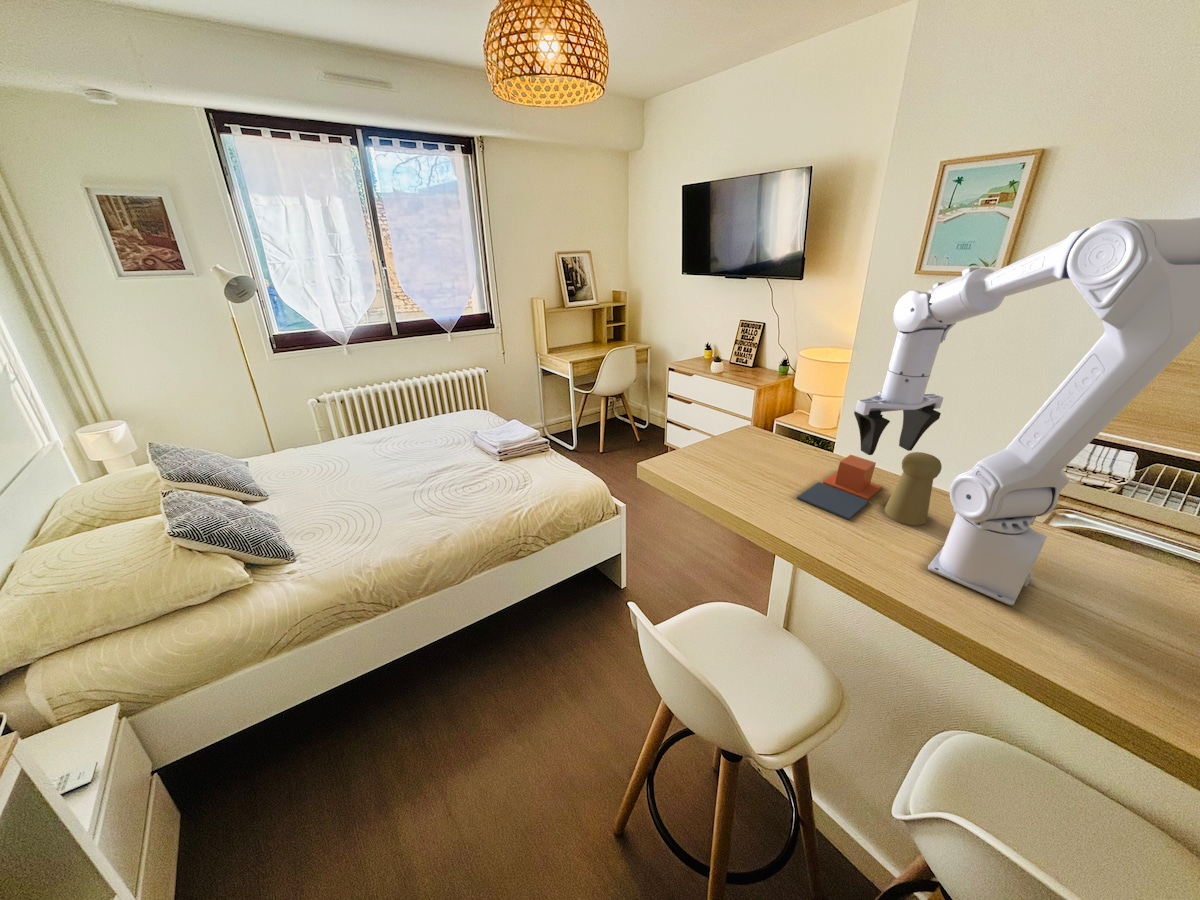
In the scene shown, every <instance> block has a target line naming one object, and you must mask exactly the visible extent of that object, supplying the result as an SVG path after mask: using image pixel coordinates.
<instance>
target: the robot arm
mask: <svg viewBox="0 0 1200 900" xmlns="http://www.w3.org/2000/svg"><path fill="white" fill-rule="evenodd" d="M1063 280H1070V282H1071V283H1072V285H1073V287H1075V289H1076V290H1077V291H1078V292H1079V294H1080V295H1081V296H1082V297H1083V299H1084V300H1085V302H1086V303H1087V304H1088V305H1089V307H1090V308H1091V309H1092V311H1093V312H1094V313H1095V314H1096V316H1097V317H1098V318H1099V320H1100V321H1101V323H1102V326H1103V330H1104V332H1103V334H1102V335H1101V336H1100V337H1099V339H1098V340H1097V341H1096V342H1095V343H1094V345H1093V346H1092V347H1091V348H1090V349H1089V351H1088V352H1087V353H1086V354H1084V356H1083V358H1082V359H1081V360H1080V361H1079V362H1078V363H1077V364H1076V366H1074V368H1073V369H1072V370H1071V371H1070V373H1069V374H1068V375H1067V376H1066V377H1065V379H1064V380H1063V381H1062V382H1061V383H1059V385H1058V387H1057V388H1055V390H1054V391H1053V392H1052V394H1051V395H1050V396H1049V397H1048V398H1047V400H1045V401H1044V403H1043V404H1042V406H1041V407H1040V408H1039V409H1038V410H1037V411H1036V412H1035V414H1034V415H1033V416H1032V417H1031V418H1030V419H1029V421H1028V422H1026V424H1025V425H1024V426H1023V427H1022V428H1021V430H1020V431H1019V432H1018V433H1017V435H1016V436H1015V437H1014V438H1013V439H1012V440H1011V441H1010V442H1009V444H1008V445H1007V446H1006V447H1005V448H1004V449H1002V450H1000V451H997V452H996V453H993V454H991V455H989V456H986V457H985V458H982V459H980V460H979V461H977V462H976V464H975V465H974V466H973V467H972V468H971V469H969V470H967V471H965V472H962V473H960V474H958V475H957V476H955V477H954V479H953V480H952V482H951V484H950V487H949V500H950V503H951V505H952V507H953V512H954V513H955V516H954V517H953V518H954V519H953V521H952V523H951V526H950V528H949V530H948V531H949V532H948V534H947V537H946V539H945V542H944V545H943V546H942V547H941V549H940V550H939V551H938V552H937V554H936V555H935V556H934V558H933V559H932V561H931V562H929V564H928V566H927V570H929V571H931V572H932V573H935V574H937V575H939V576H942V577H944V578H946V579H948V580H951V581H953V582H955V583H957V584H960V585H962V586H965V587H967V588H969V589H970V590H971V589H972V590H973V591H976V592H978V593H981V594H983V595H985V596H987V597H989V598H991V599H994V600H996V601H999V602H1001V603H1004V604H1006V605H1008V606H1014V605H1015V603H1016V600H1017V599H1018V597H1019V595H1020V593H1021V591H1022V589H1023V587H1025V588H1026V587H1028V585H1029V583H1030V580H1031V579H1032V577H1033V573H1031V570H1032V568H1033V567H1034V565H1035V563H1036V561H1037V559H1038V557H1039V554H1040V552H1041V551H1042V549H1043V546H1044V544H1045V542H1046V540H1047V538H1048V536H1047V535H1046V534H1043V533H1041V532H1039V531H1037V530H1035V529H1033V528H1031V527H1030V526H1033V525H1034V523H1035V521H1036V519H1037V517H1043V516H1046V515H1048V514H1050V513H1052V511H1053V510H1054V509H1055V508H1056V507H1057V504H1058V501H1059V497H1060V495H1061V492H1062V491H1063V489H1064V488H1065V487H1066V486H1067V485H1068V484H1069V483H1070V479H1069V477H1068V476H1067V474H1066V472H1065V471H1064V469H1065V468H1066V467H1067V466H1068V465H1069V464H1070V463H1071V462H1072V461H1073V460H1074V459H1075V458H1076V457H1077V456H1078V455H1079V454H1080V453H1081V452H1082V451H1083V450H1084V449H1085V448H1086V447H1087V446H1088V445H1089V444H1090V443H1091V442H1092V441H1093V440H1094V439H1095V438H1096V437H1097V436H1098V435H1099V434H1100V433H1101V432H1102V431H1104V429H1105V428H1106V427H1107V426H1108V425H1109V424H1111V422H1112V421H1113V420H1114V419H1115V418H1116V417H1117V416H1118V415H1120V413H1121V412H1123V410H1125V409H1126V407H1128V405H1130V403H1131V402H1132V401H1133V400H1135V399H1136V398H1137V397H1138V396H1139V394H1141V392H1142V391H1144V390H1145V389H1146V388H1147V386H1149V385H1150V384H1151V383H1152V382H1153V381H1154V380H1155V378H1157V377H1158V376H1159V375H1160V374H1161V373H1162V372H1163V371H1164V370H1165V369H1166V368H1167V367H1168V366H1169V365H1170V364H1171V363H1172V362H1173V361H1174V360H1175V359H1176V358H1177V357H1178V356H1179V355H1180V354H1181V353H1182V352H1183V351H1185V349H1186V348H1187V347H1188V346H1189V345H1190V344H1191V343H1192V342H1193V341H1194V340H1195V339H1196V337H1198V335H1199V333H1200V216H1199V217H1190V218H1182V219H1181V218H1179V219H1176V218H1175V219H1173V218H1171V219H1167V218H1164V219H1160V218H1159V219H1155V218H1153V219H1152V218H1150V219H1149V218H1148V219H1147V218H1145V219H1144V218H1142V219H1140V218H1139V219H1138V218H1133V217H1132V218H1131V217H1126V216H1125V217H1124V216H1123V217H1122V216H1121V217H1113V218H1110V219H1105V220H1104V221H1100V222H1098V223H1097V224H1095V225H1093V226H1091V227H1085V228H1082V229H1078V230H1075V231H1073V232H1071V233H1070V234H1069V235H1068V236H1067V237H1066V238H1064V239H1062V240H1060V241H1058V242H1056V243H1054V244H1051V245H1049V246H1047V247H1045V248H1043V249H1041V250H1039V251H1037V252H1034V253H1032V254H1030V255H1028V256H1025V257H1023V258H1021V259H1019V260H1017V261H1014V262H1013V263H1011V264H1008V265H1006V266H1004V267H1002V268H1000V269H998V270H993V269H991V268H986V267H979V266H978V267H976V266H975V267H974V266H973V267H972V266H971V267H968V268H966V269H964V270H962V271H961V276H959V277H956V278H953V279H950V280H948V281H946V282H943V281H942V282H937V283H934V284H933V285H932V288H930V289H929V290H927V291H920V290H908V291H907V293H905V294H903V295H902V296H901V297H899V299H898V301H897V302H896V304H895V306H894V309H893V315H892V317H893V323H894V326H895V328H896V329H897V334H896V338H895V341H894V345H893V349H892V352H891V356H890V360H889V364H888V367H887V371H886V375H885V379H884V382H883V386H882V390H880V391H878V392H877V395H874V396H870V397H867V398H863V399H857V401H856V405H855V408H854V411H853V414H854V417H855V419H856V422H857V425H858V431H859V437H860V441H859V442H860V451H861V452H863V453H864V454H866V455H868V456H873V455H874V453H875V451H876V449H877V446H878V443H879V441H880V438H881V436H882V434H883V432H884V431H885V429H886V427H887V426H888V425H889V424H890V423H891V420H889V419H887V418H885V417H883V416H884V414H882V413H886V412H897V411H902V414H903V415H902V417H903V418H902V426H901V432H900V435H899V439H898V441H899V442H898V446H899V447H900V448H902V449H904V450H906V451H908V452H910V451H912V450H913V449H914V447H915V446H917V445H916V444H917V443H918V442H919V440H920V439H921V437H922V436H923V435H924V433H925V432H926V431H927V430H928V429H929V428H930V427H931V426H932V425H933V424H934V423H936V422H937V421H938V420H939V419H940V417H941V415H942V413H941V412H940V411H938V409H941V407H942V404H943V400H944V396H941V395H938V394H935V393H926V391H927V387H928V383H929V380H930V378H931V373H932V371H933V367H934V364H935V360H936V358H937V354H938V351H939V349H940V345H941V344H943V342H944V341H945V340H946V338H947V335H948V332H949V331H950V330H951V329H952V328H954V326H956V324H957V323H960V322H962V321H966V320H969V319H971V318H975V317H979V316H981V315H984V314H987V313H991V312H993V311H995V310H996V309H998V308H999V307H1000V306H1001V304H1002V303H1003V301H1004V300H1005V298H1006V297H1009V296H1013V295H1016V294H1020V293H1022V292H1025V291H1029V290H1033V289H1036V288H1039V287H1042V286H1043V287H1044V286H1047V285H1051V284H1053V283H1056V282H1060V281H1063Z"/></svg>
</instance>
